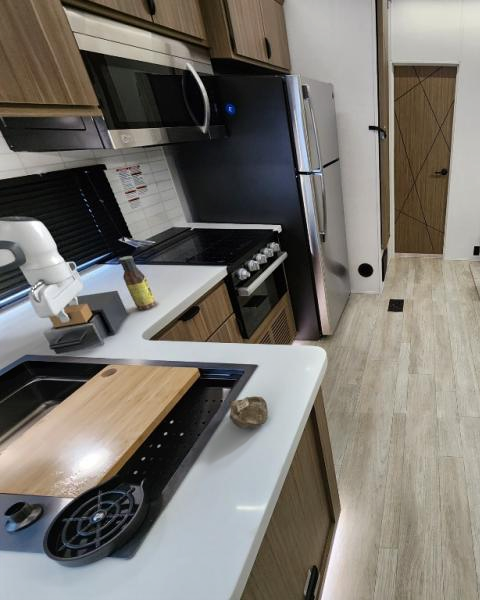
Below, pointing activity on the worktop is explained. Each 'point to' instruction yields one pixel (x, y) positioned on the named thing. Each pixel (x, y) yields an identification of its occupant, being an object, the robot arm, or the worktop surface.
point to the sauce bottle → (137, 284)
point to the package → (73, 315)
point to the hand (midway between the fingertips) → (71, 315)
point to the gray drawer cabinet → (106, 308)
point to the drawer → (78, 335)
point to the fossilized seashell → (249, 412)
